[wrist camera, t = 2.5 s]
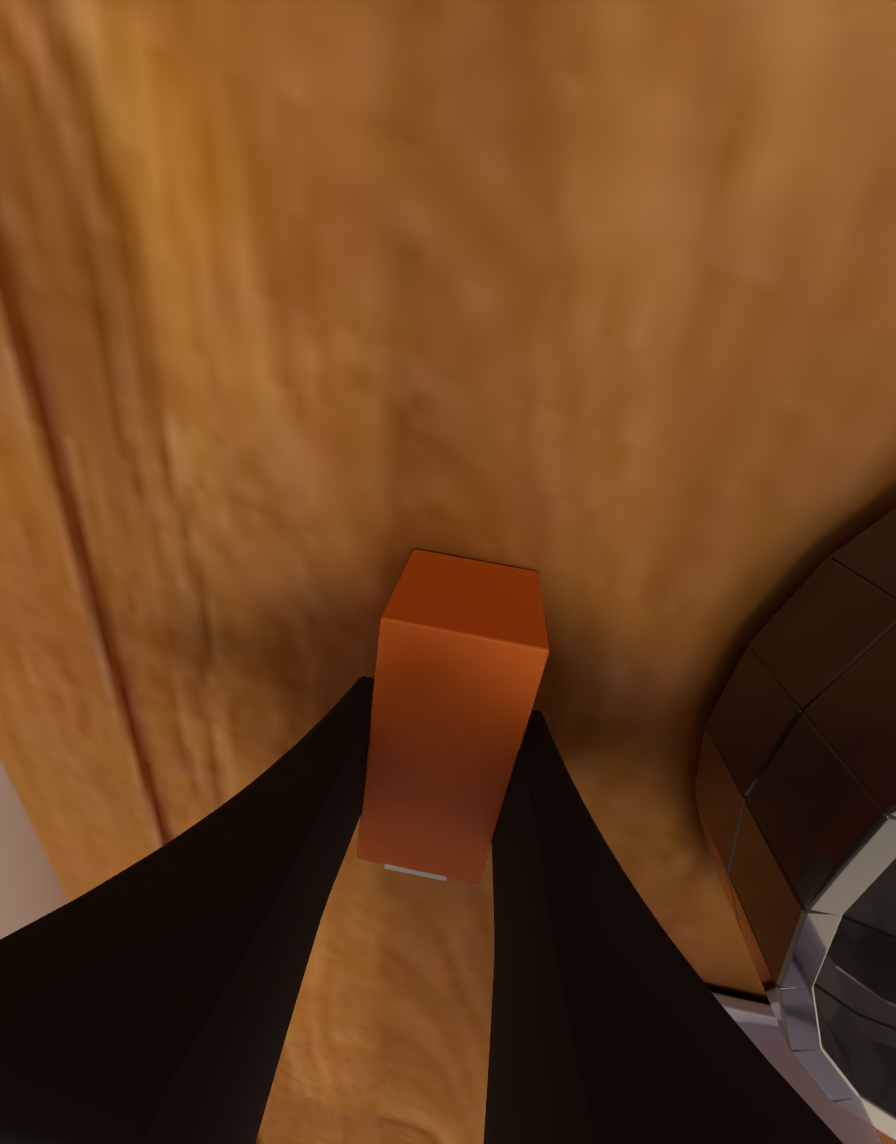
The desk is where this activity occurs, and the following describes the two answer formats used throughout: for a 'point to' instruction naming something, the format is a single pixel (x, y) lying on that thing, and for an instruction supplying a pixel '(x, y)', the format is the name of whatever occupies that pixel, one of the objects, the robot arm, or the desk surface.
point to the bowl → (818, 819)
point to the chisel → (449, 712)
